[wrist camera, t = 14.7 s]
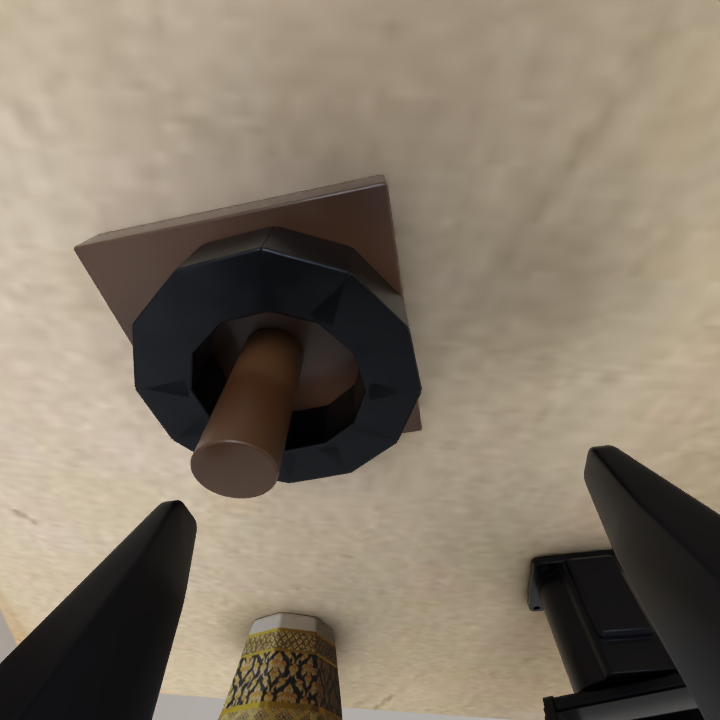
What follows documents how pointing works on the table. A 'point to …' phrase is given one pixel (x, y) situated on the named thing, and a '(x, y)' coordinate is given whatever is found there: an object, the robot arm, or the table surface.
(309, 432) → the ring
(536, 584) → the robot arm
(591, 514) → the table surface
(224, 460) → the peg stand
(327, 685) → the ceramic cup
